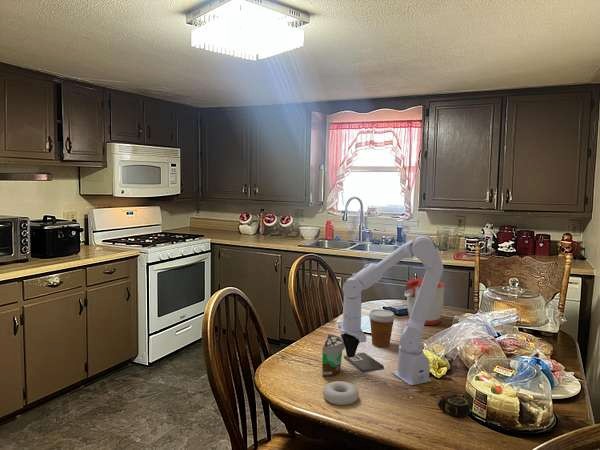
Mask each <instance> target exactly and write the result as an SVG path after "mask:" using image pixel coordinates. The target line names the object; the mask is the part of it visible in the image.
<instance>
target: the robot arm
mask: <svg viewBox="0 0 600 450" xmlns="http://www.w3.org/2000/svg"><path fill="white" fill-rule="evenodd" d="M440 254H441V253H440V251H439V247H438V245H437V243H436V242H435V241H434V239H433V238H432V237H431V236H430V235H428V234H418V235H417V236H416V237H414V239H413V238H412V239H410V240H408V241H406V242H405V243H403V244H401V245H400V246H399V247H397V248H396V249H395V250H394V251H392V252H390V254H388V255H387V256H386V257H384V258H383V259H382V260H381V261H379V262H378V263H373V262H370V263H369V264H368V263H366V264H364V265H363V268H362V269H361V270H360V271H358V272H356V273H355V272H353V274H352V275H351V277H349V278H348V279H346V281H345V282H344V283H343V284H342V285H343V286H342V293H343V294H344V295H343V302H342V304H343V307H342V308H343V309H342V311H343V312H342V321H339V322H337V328H338V329H339V332H340V333H341V334H340V337H341V338H342V339H343V342H344V346H345V348H344V350H345V353H346V355H347V357H349V358H351V357H354V356H355V354H357V349H358V347H359V344H361V343H366V342H367V335H366V334H365V333H364V331H363V329H362V328H361V327H362V292H363V290H367V289H369V288H370V287H371V286H373V285H375V284H376V283H378V282H379V281H380V280H381V279H383V276H384V272H386V271H387V270H388V269H390V268H392V267H393V266H395V265H397V264H398V263H399V262H401V261H403V260H404V259H406V260H409V259H411V260H412V259H414V257H415V258H417V260H418V261H420V262H421V263H422V265H423V267H424V269H425V273H424V276H423V277H424V278H423V277H422V278H423V281H422V284H421V287H420V290H419V293H418V296H417V299H416V302H415V305H414V308H413V310H412V313H411V316H410V317H409V318H408V322H407V323H406V324H405V325H404V326H403V327H402V330H401V336H400V338H399V345H398V358H397V359H398V361H397V370H393V371H391V373H392V375H394V376H395V377H396V378H398V379H400V380H401V381H403V382H404V383H405V384H407V385H408V386H415V385H419V384H425V383H429V382H431V381H432V379H431V378H430V365H431V363H430V359H429V358H428V356H427V355H426V354H425V353H424V347H423V346H422V337H423V331H424V327H425V325H424V323H425V321H426V318H427V315H428V312H429V309H430V306H431V304H432V301H433V298H434V295H435V292H436V289H437V286H438V284H439V281H440V282H441V277H442V275H443V271H444V265H443V264H444V263H443V261H442V257H441V255H440Z"/></svg>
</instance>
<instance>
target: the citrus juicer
mask: <svg viewBox="0 0 600 450" xmlns="http://www.w3.org/2000/svg"><path fill="white" fill-rule="evenodd" d="M423 278H424V276H423V277H422V278H411V279H409V280H407V281H406V283H407V284H406V285H407V286H406V291H404V292H403V296H405V297H407V298H406V305H407V314H408V317H409V318H410V316H411V313H412V310H413V308H414V305H415V302H416V299H417V296H418V293H419V290H420V287H421V284H422V281H423ZM445 287H446V284H445V283H444V282H442V281H441V280H440V281H439V284H438V286H437V289H436V292H435V295H434V298H433V301H432V304H431V306H430V309H429V312H428V315H427V318H426V321H425V323H424V326H427V325H428V326H431V325H436V324H437V325H438V323H439V321H440V319H441V317H442V313H443V309H444V301H445V300H444V299H445Z"/></svg>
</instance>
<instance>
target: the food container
mask: <svg viewBox="0 0 600 450" xmlns="http://www.w3.org/2000/svg"><path fill="white" fill-rule="evenodd" d="M344 350H345V345H344V342H343V339H342V338H341V336H338V335H336V334H332V333H331V334H330V333H327V339H326V340H325V343H324V346H323V345H322V350H321V353H322V354H321V355H322V358H321V359H322V367H321V368H322V369H321V370H322V371H321V373H322V374H321V375H322V378H329V377H335V376H338V375H339V374H340V373H341V367H342V357H343V351H344Z"/></svg>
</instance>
